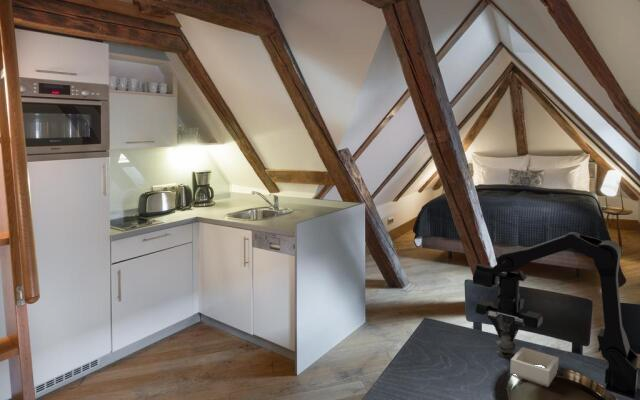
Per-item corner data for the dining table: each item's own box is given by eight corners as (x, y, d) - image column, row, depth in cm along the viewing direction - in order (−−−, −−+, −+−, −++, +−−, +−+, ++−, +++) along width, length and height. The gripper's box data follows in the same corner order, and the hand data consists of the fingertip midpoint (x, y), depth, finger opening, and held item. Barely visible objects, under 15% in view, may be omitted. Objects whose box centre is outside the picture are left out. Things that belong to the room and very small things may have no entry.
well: (557, 372, 124) (558, 357, 124) (548, 387, 117) (548, 371, 116) (521, 360, 131) (522, 346, 130) (510, 374, 124) (510, 359, 123)
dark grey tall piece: (492, 353, 136) (493, 317, 134) (502, 348, 139) (503, 312, 138) (509, 361, 131) (511, 323, 129) (519, 355, 135) (521, 318, 133)
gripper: (549, 291, 132) (546, 339, 134) (488, 278, 144) (486, 322, 147) (538, 301, 124) (535, 352, 126) (474, 287, 136) (473, 334, 138)
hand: (506, 339), depth 134 cm, fingers closed on dark grey tall piece, 3 cm apart
